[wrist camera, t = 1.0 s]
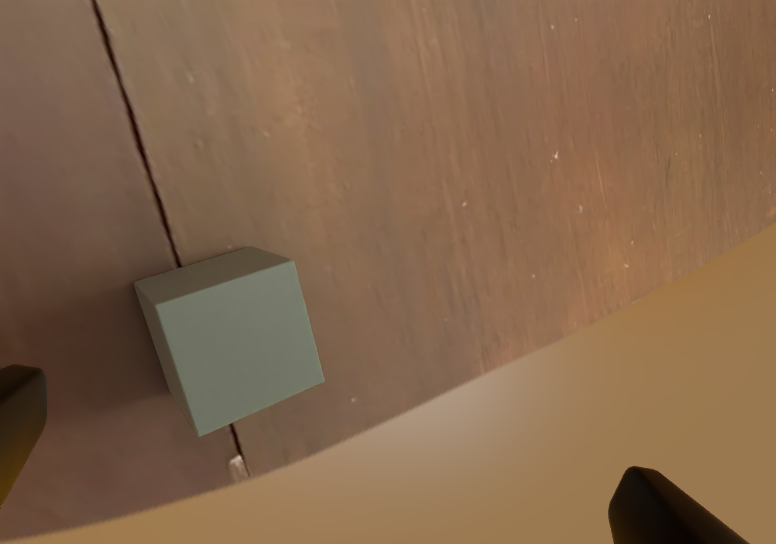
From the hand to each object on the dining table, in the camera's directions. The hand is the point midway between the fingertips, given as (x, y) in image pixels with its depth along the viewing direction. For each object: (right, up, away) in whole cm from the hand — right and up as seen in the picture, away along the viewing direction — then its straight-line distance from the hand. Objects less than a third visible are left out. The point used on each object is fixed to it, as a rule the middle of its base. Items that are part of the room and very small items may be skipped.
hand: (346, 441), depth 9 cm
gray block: (-6, +1, +14) cm, 15 cm away
